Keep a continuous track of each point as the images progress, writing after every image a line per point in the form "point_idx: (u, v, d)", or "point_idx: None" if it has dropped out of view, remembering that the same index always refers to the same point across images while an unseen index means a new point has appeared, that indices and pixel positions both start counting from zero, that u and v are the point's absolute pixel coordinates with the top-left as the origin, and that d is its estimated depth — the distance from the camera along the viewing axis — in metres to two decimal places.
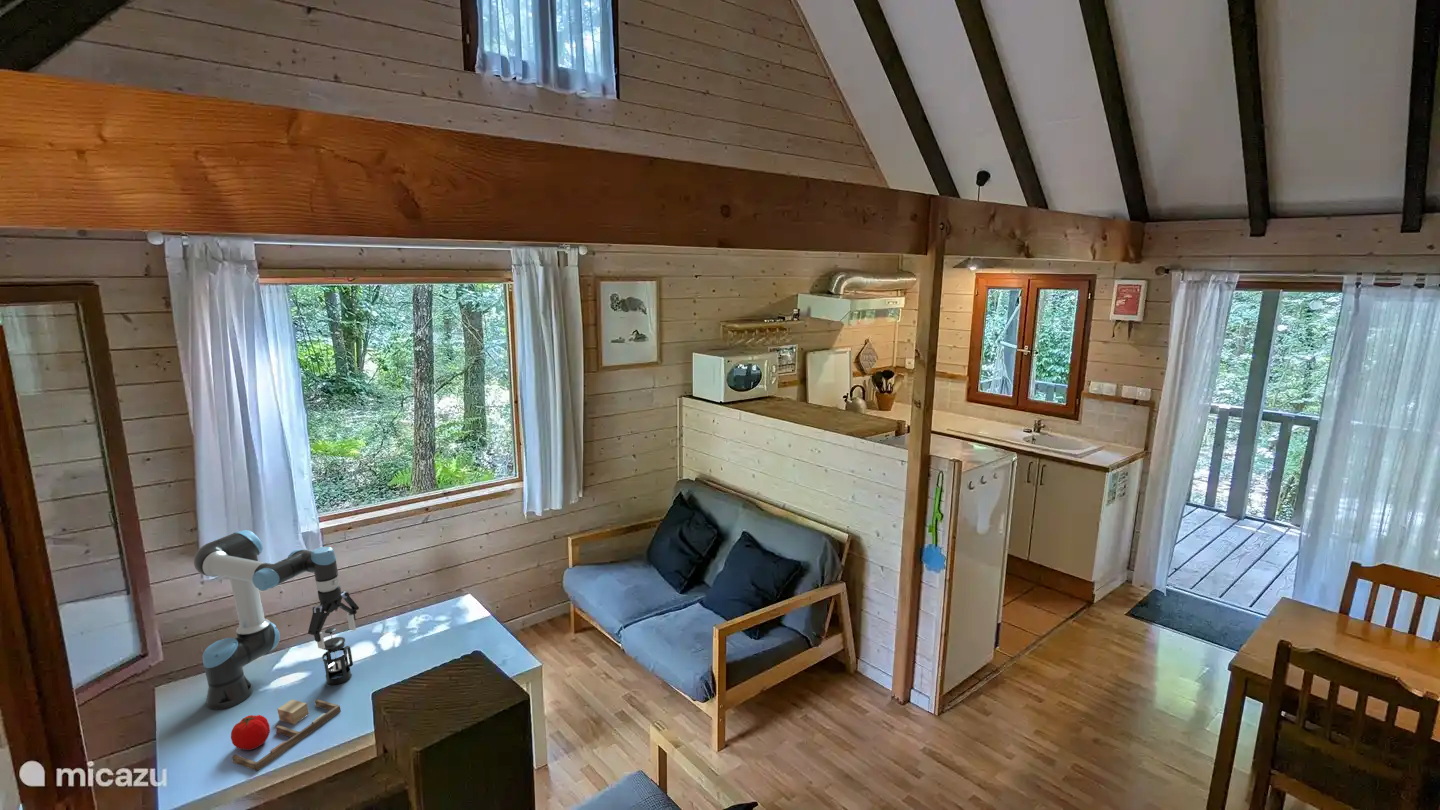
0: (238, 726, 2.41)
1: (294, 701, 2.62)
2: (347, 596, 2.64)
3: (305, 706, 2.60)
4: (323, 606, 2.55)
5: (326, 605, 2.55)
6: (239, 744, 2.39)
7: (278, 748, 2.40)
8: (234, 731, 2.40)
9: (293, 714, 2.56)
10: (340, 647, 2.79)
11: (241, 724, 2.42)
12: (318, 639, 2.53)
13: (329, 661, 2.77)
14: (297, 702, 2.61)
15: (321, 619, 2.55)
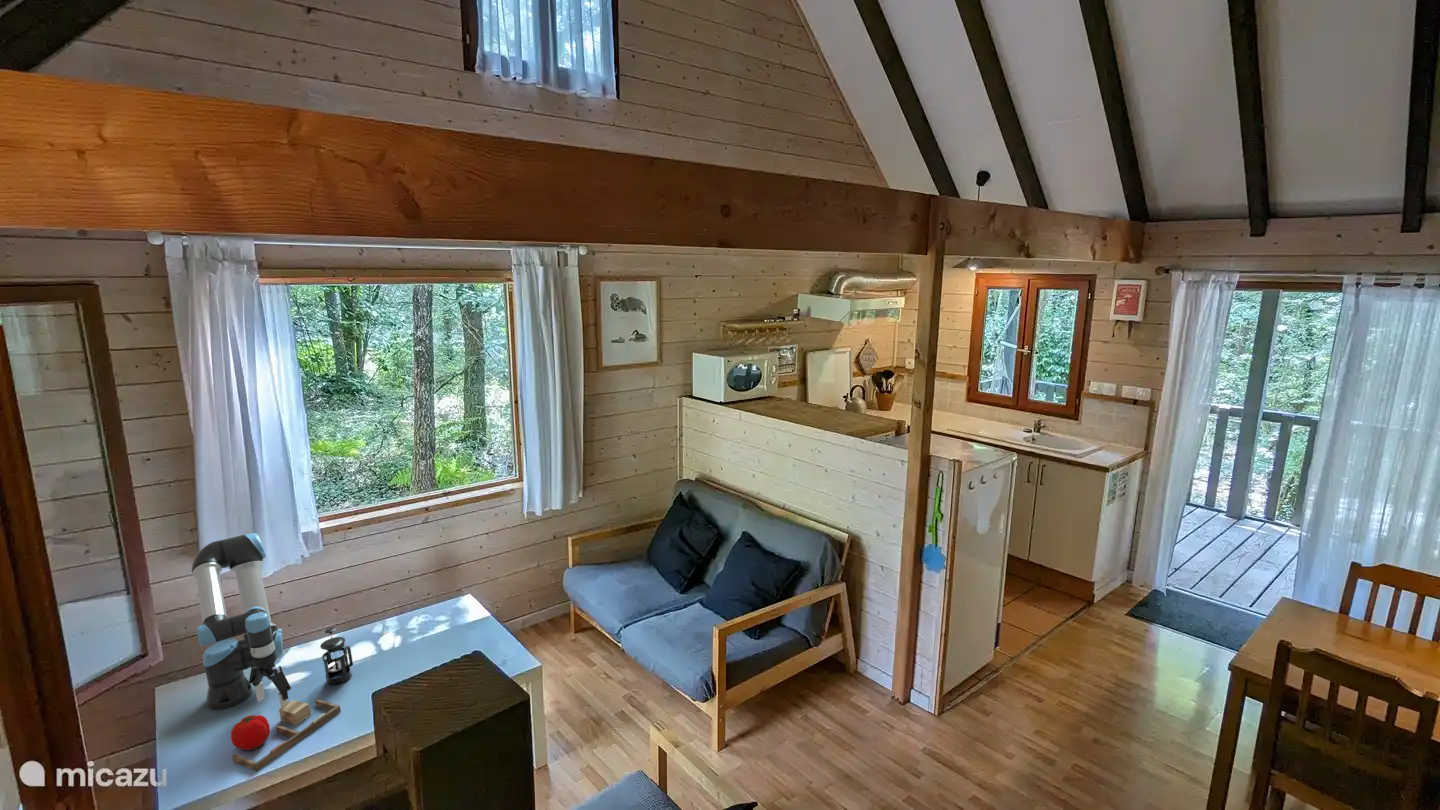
0: (238, 726, 2.41)
1: (295, 702, 2.62)
2: (274, 673, 2.57)
3: (307, 706, 2.60)
4: None
5: None
6: (239, 745, 2.39)
7: (278, 748, 2.40)
8: (234, 731, 2.40)
9: (295, 714, 2.55)
10: (340, 647, 2.79)
11: (241, 724, 2.42)
12: None
13: (329, 661, 2.77)
14: (299, 702, 2.61)
15: None
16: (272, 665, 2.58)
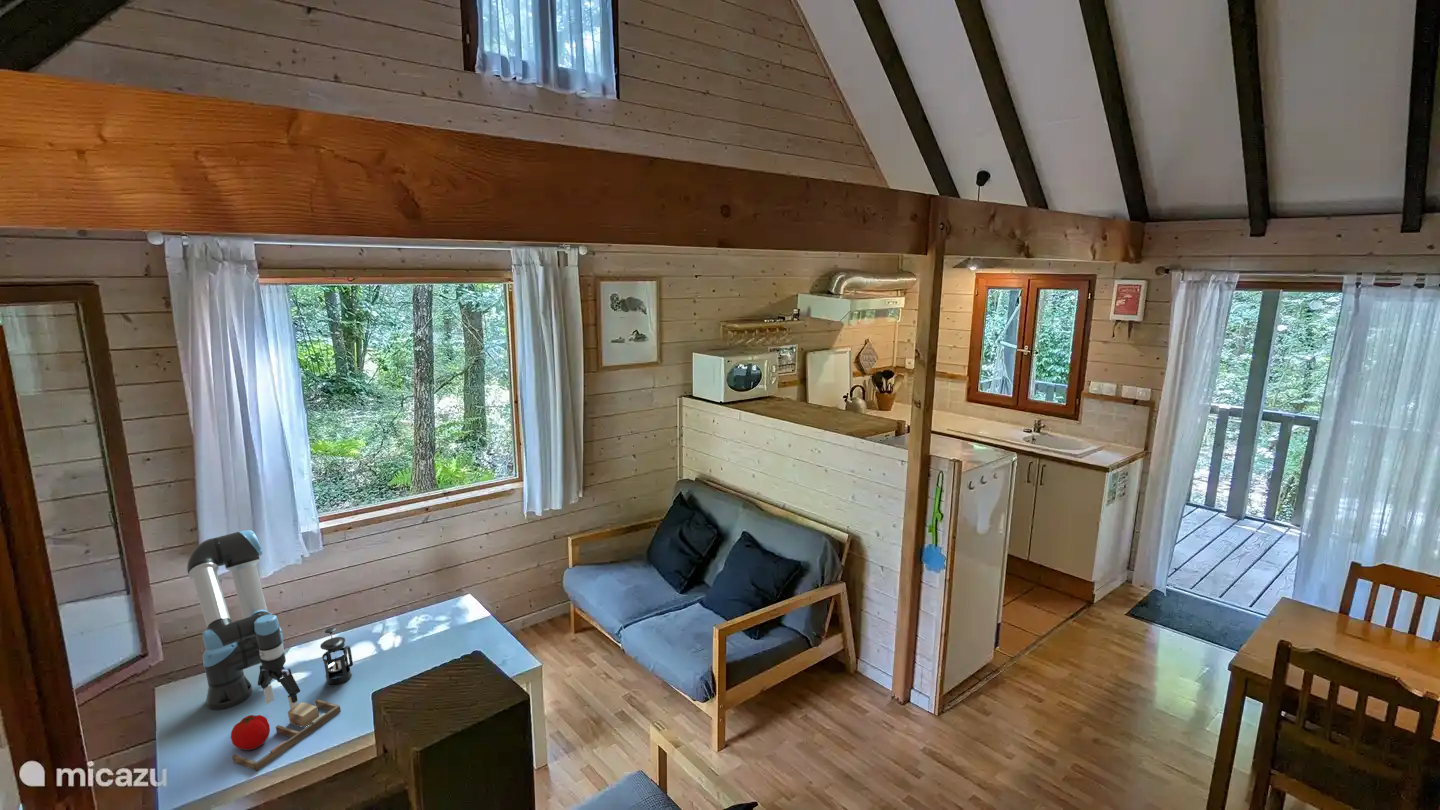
0: (238, 726, 2.41)
1: (304, 704, 2.60)
2: (283, 676, 2.55)
3: (315, 709, 2.58)
4: None
5: None
6: (239, 744, 2.39)
7: (278, 748, 2.40)
8: (234, 731, 2.40)
9: (303, 717, 2.54)
10: (340, 647, 2.79)
11: (241, 724, 2.42)
12: (264, 692, 2.63)
13: (329, 661, 2.77)
14: (307, 705, 2.59)
15: None
16: (281, 668, 2.57)
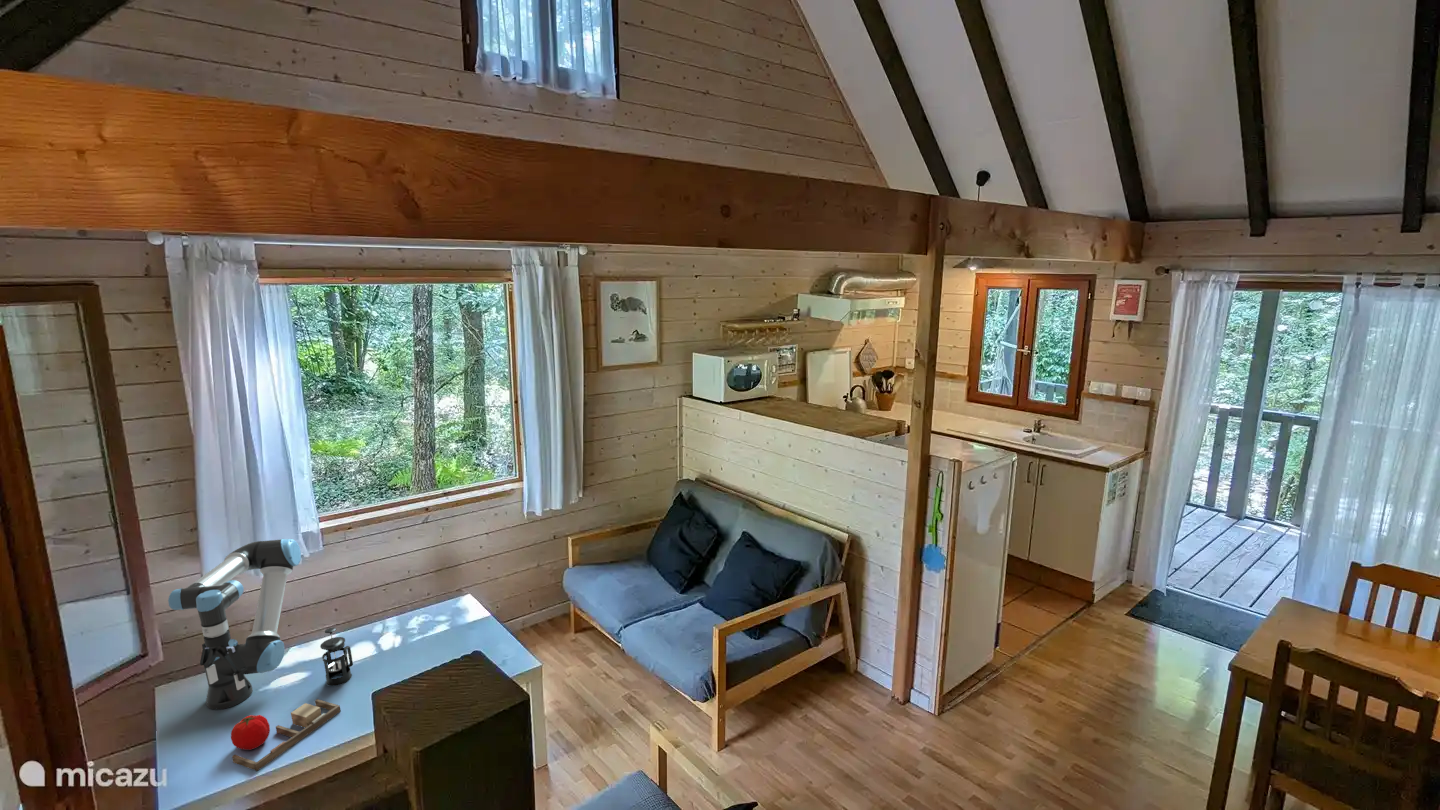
0: (238, 726, 2.41)
1: (307, 705, 2.60)
2: (229, 653, 2.44)
3: (318, 710, 2.58)
4: None
5: None
6: (239, 744, 2.39)
7: (278, 748, 2.40)
8: (234, 731, 2.40)
9: (307, 718, 2.53)
10: (340, 647, 2.79)
11: (241, 724, 2.42)
12: None
13: (329, 661, 2.77)
14: (310, 706, 2.59)
15: None
16: (226, 645, 2.46)
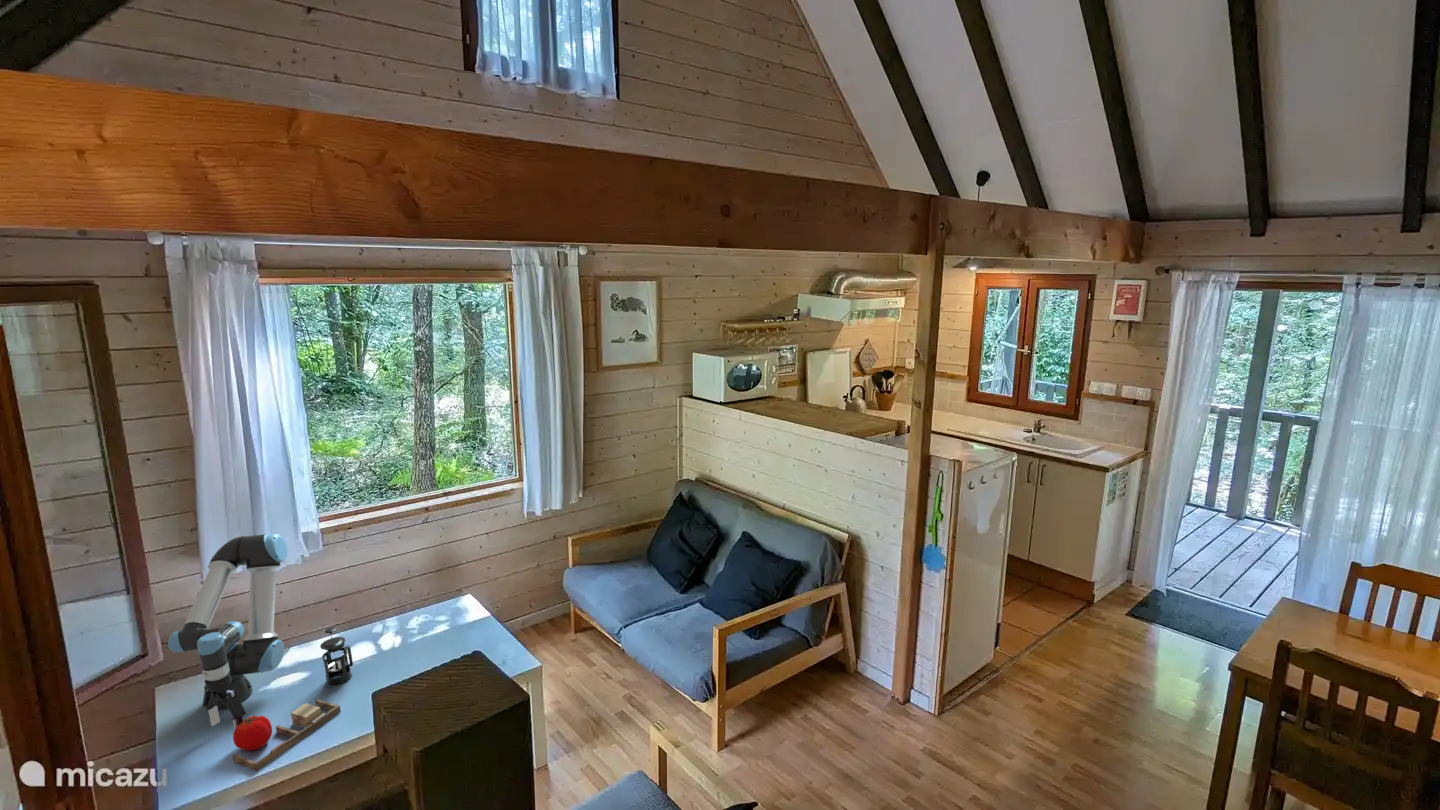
0: (240, 727, 2.41)
1: (307, 705, 2.60)
2: (228, 697, 2.42)
3: (318, 710, 2.58)
4: None
5: None
6: (241, 745, 2.39)
7: (278, 748, 2.40)
8: (236, 732, 2.40)
9: (307, 718, 2.53)
10: (340, 647, 2.79)
11: (243, 725, 2.41)
12: None
13: (329, 661, 2.77)
14: (310, 706, 2.59)
15: None
16: (226, 688, 2.44)
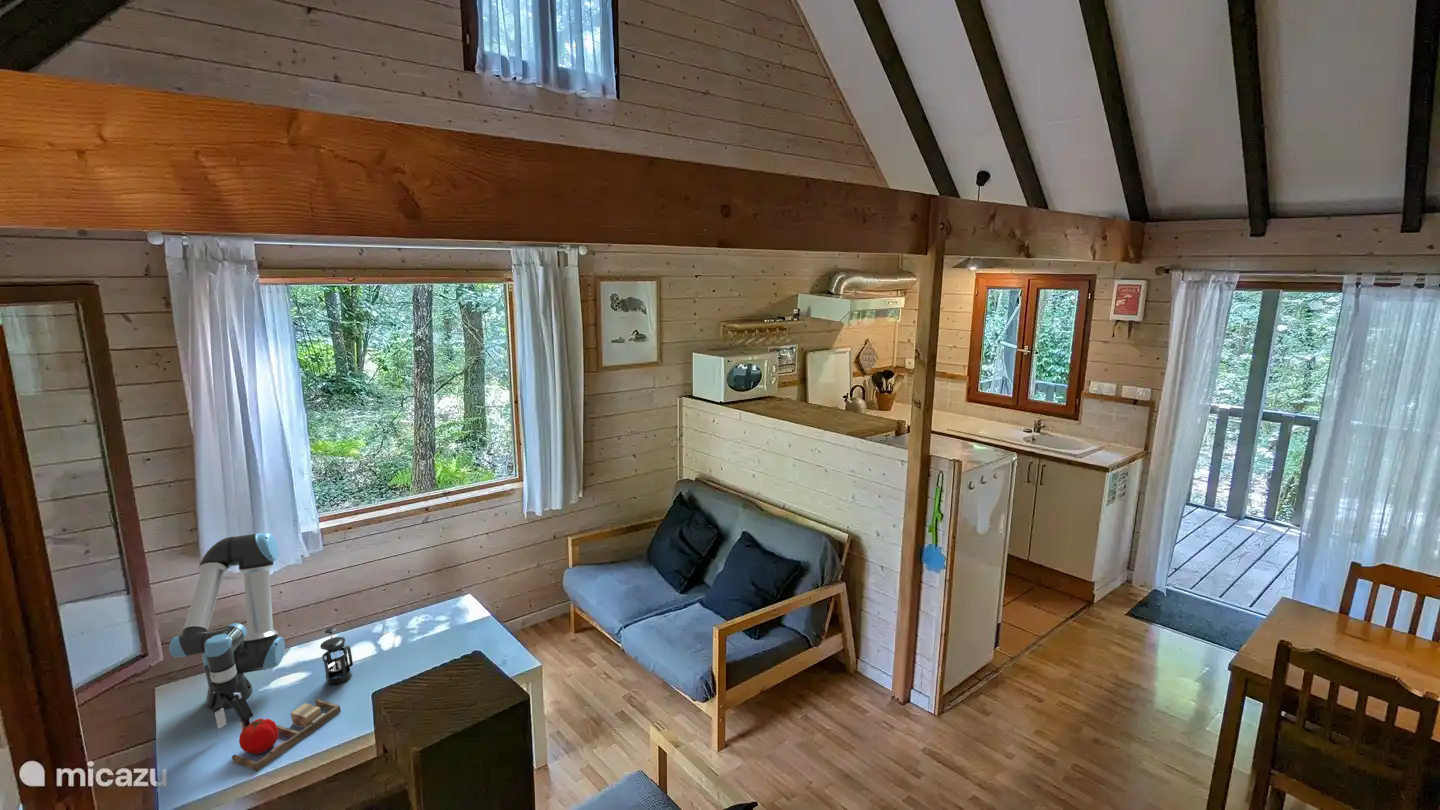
0: (246, 730, 2.39)
1: (307, 705, 2.60)
2: (235, 699, 2.41)
3: (318, 710, 2.58)
4: None
5: None
6: (246, 748, 2.37)
7: (278, 748, 2.40)
8: (242, 735, 2.38)
9: (306, 718, 2.53)
10: (340, 647, 2.79)
11: (249, 728, 2.40)
12: None
13: (329, 661, 2.77)
14: (310, 706, 2.59)
15: None
16: (233, 690, 2.43)
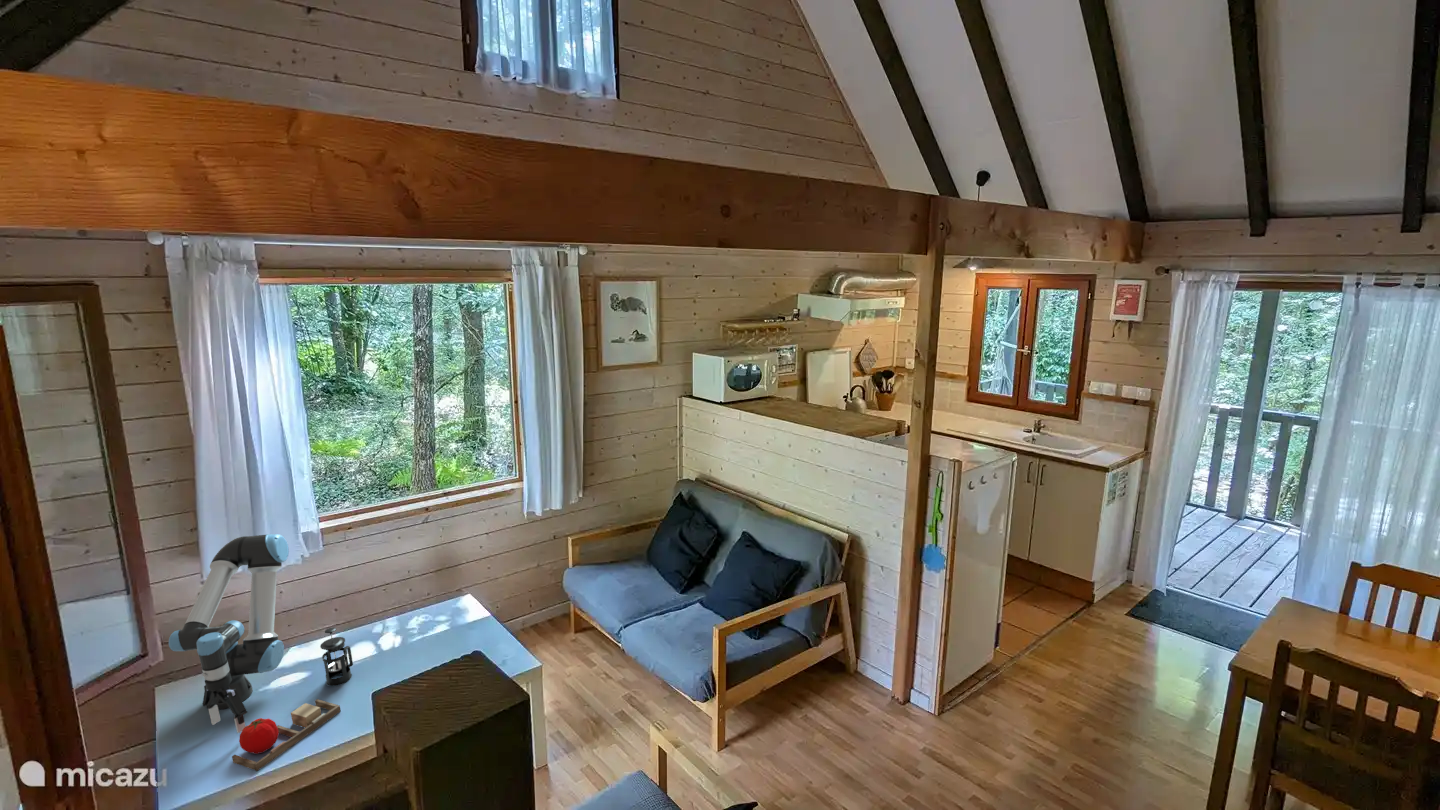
0: (246, 729, 2.39)
1: (307, 705, 2.60)
2: (229, 696, 2.43)
3: (318, 710, 2.58)
4: None
5: None
6: (246, 748, 2.37)
7: (278, 748, 2.40)
8: (242, 734, 2.38)
9: (306, 718, 2.53)
10: (340, 647, 2.79)
11: (249, 727, 2.40)
12: None
13: (329, 661, 2.77)
14: (310, 706, 2.59)
15: None
16: (226, 688, 2.45)
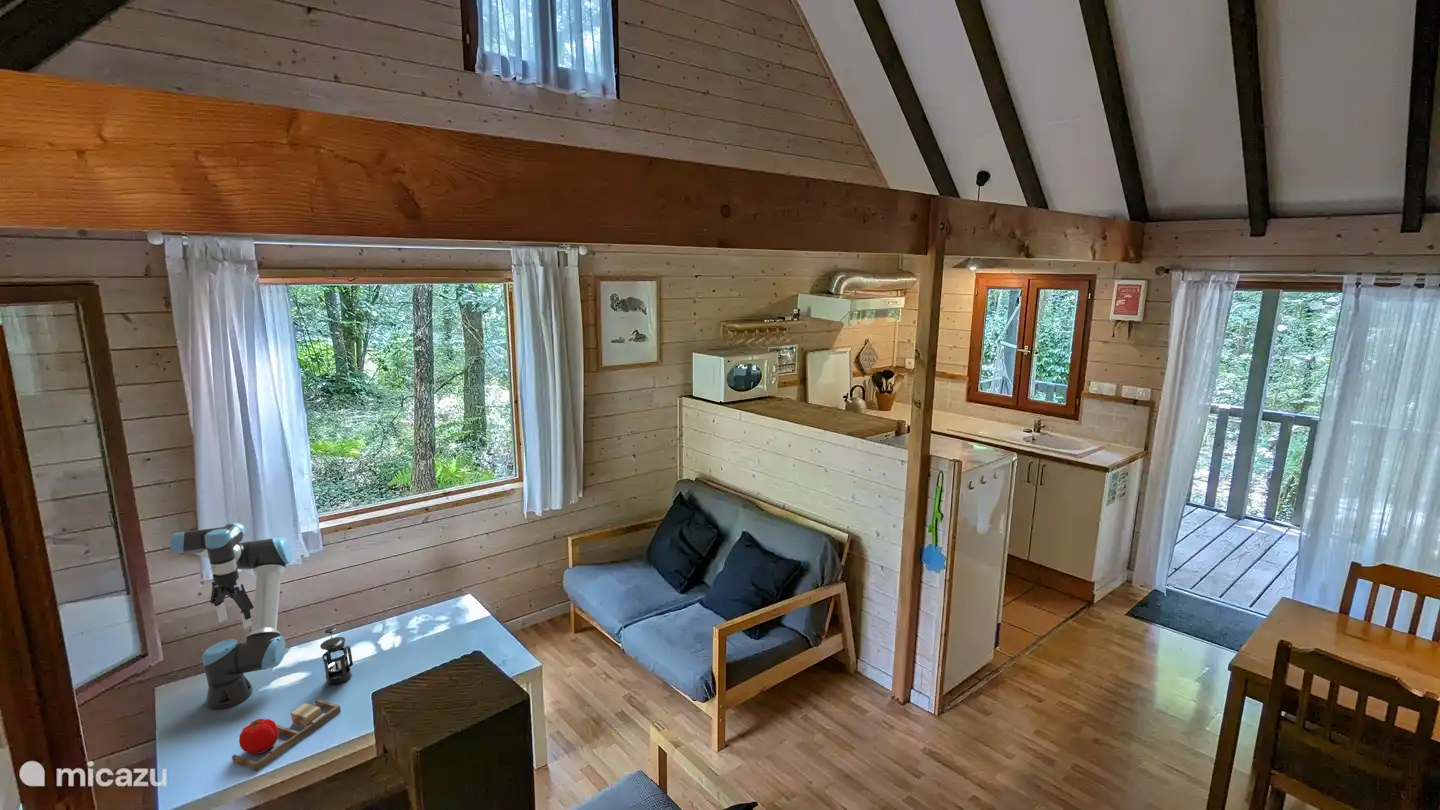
0: (246, 729, 2.39)
1: (307, 705, 2.60)
2: (236, 591, 2.48)
3: (318, 710, 2.58)
4: None
5: (219, 585, 2.51)
6: (246, 748, 2.37)
7: (278, 748, 2.40)
8: (242, 734, 2.38)
9: (307, 718, 2.53)
10: (340, 647, 2.79)
11: (249, 727, 2.40)
12: (217, 610, 2.56)
13: (329, 661, 2.77)
14: (310, 706, 2.59)
15: None
16: (234, 583, 2.49)
